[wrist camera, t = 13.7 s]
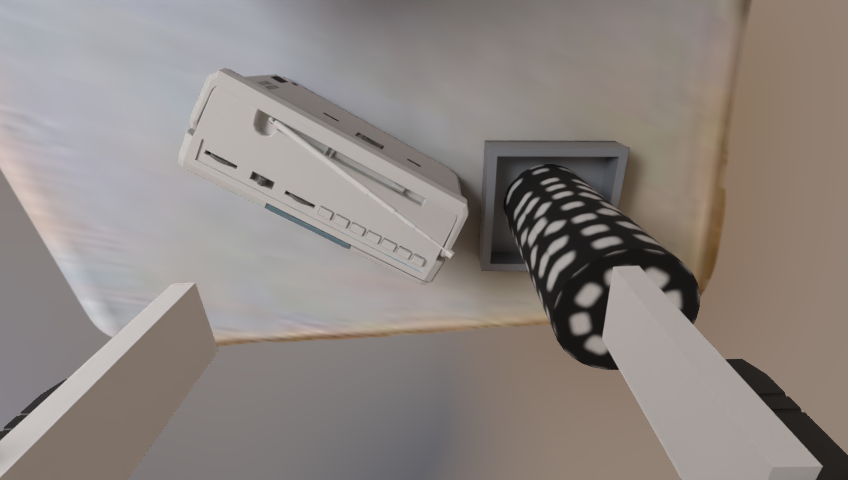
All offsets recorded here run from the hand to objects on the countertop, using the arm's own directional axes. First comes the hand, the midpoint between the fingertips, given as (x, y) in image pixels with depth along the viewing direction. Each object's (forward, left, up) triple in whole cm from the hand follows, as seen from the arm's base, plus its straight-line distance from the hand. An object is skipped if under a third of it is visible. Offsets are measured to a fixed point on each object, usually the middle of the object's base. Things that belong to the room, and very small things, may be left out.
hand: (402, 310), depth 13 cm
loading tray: (+6, +12, -30) cm, 33 cm away
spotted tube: (+6, +12, -30) cm, 33 cm away
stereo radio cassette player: (+1, -7, -31) cm, 31 cm away
